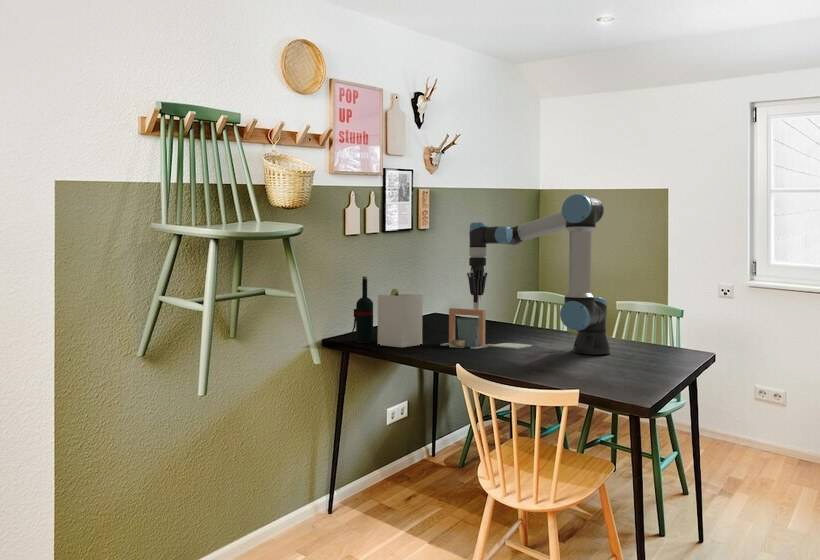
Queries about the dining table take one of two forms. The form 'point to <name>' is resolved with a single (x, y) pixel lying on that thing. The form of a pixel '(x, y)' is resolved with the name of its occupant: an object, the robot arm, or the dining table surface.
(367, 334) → the wine bottle
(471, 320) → the grey open tube
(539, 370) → the dining table surface
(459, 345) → the beige rectangular block
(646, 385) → the dining table surface
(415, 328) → the light grey box
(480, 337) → the wooden arch
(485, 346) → the rails
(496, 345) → the coaster
